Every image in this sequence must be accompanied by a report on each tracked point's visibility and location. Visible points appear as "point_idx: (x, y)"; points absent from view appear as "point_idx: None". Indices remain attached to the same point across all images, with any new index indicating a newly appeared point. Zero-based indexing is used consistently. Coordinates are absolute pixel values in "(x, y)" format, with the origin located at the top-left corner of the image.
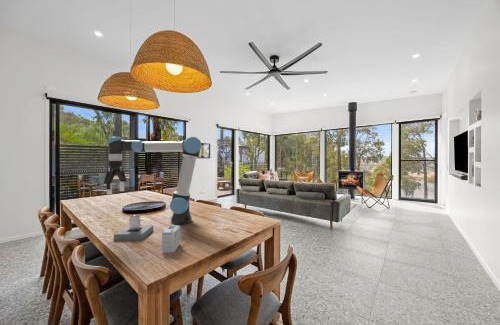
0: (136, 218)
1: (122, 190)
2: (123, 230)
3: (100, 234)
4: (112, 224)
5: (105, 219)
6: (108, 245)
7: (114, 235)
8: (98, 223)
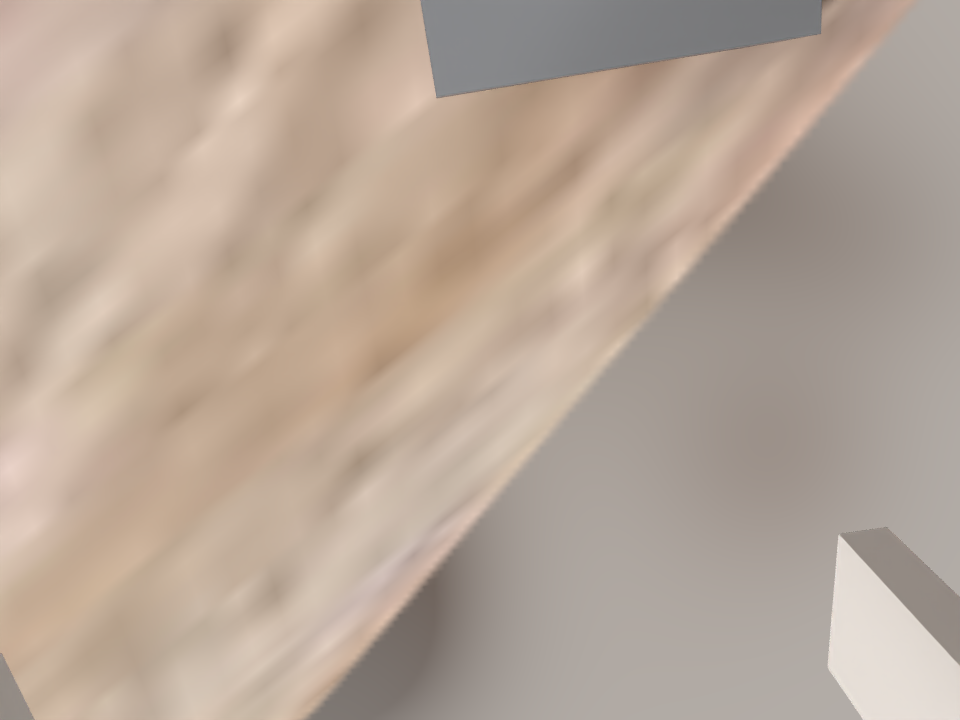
0: None
1: (4, 717)
2: (659, 7)
3: (563, 371)
4: (216, 501)
5: (71, 706)
6: (898, 11)
7: (814, 24)
8: (226, 665)
